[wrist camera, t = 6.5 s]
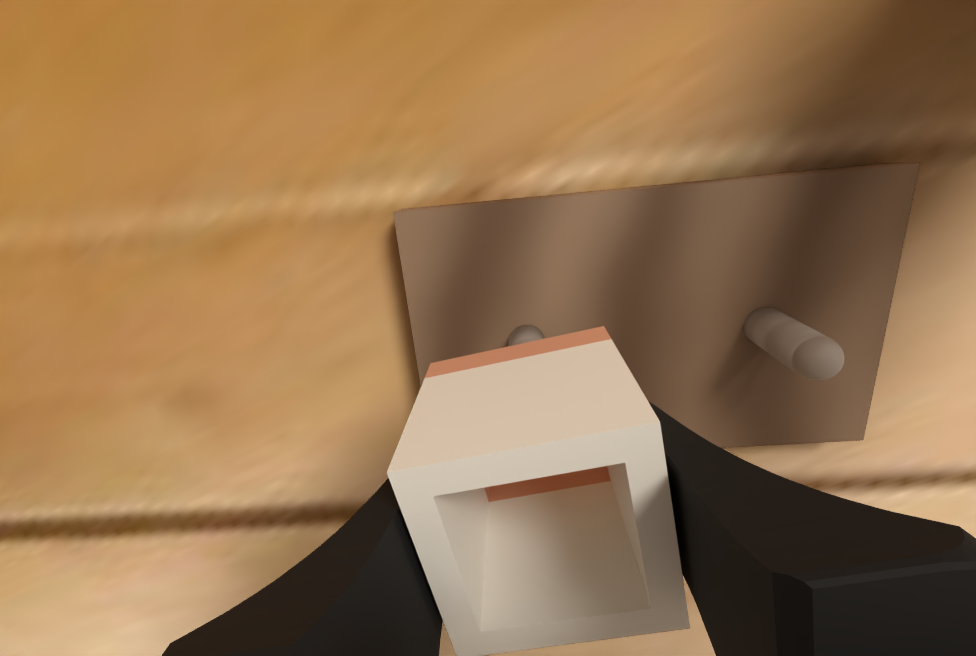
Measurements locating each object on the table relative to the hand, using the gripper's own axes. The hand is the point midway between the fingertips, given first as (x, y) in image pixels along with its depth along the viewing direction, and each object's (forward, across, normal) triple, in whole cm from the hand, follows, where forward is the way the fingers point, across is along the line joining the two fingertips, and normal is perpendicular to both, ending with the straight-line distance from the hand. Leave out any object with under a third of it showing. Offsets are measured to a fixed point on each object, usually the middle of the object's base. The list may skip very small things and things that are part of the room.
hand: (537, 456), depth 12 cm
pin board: (+10, -5, +1) cm, 11 cm away
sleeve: (+2, 0, 0) cm, 2 cm away
